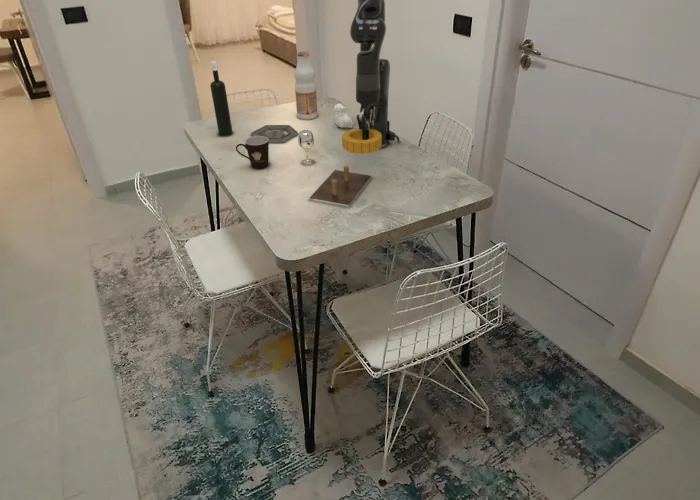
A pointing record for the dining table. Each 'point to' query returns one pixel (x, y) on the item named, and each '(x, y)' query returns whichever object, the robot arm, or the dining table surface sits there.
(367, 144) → the yellow segmented ring
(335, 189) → the rack
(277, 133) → the grey hexagonal frame
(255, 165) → the coffee mug
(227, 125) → the wine bottle
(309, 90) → the white milk bottle
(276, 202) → the dining table surface
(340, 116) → the bust
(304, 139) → the wineglass
